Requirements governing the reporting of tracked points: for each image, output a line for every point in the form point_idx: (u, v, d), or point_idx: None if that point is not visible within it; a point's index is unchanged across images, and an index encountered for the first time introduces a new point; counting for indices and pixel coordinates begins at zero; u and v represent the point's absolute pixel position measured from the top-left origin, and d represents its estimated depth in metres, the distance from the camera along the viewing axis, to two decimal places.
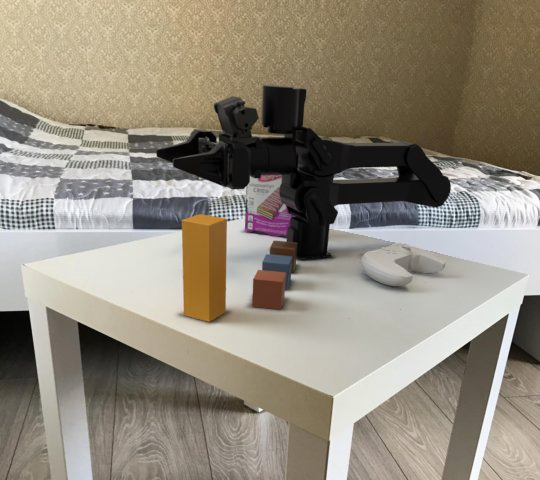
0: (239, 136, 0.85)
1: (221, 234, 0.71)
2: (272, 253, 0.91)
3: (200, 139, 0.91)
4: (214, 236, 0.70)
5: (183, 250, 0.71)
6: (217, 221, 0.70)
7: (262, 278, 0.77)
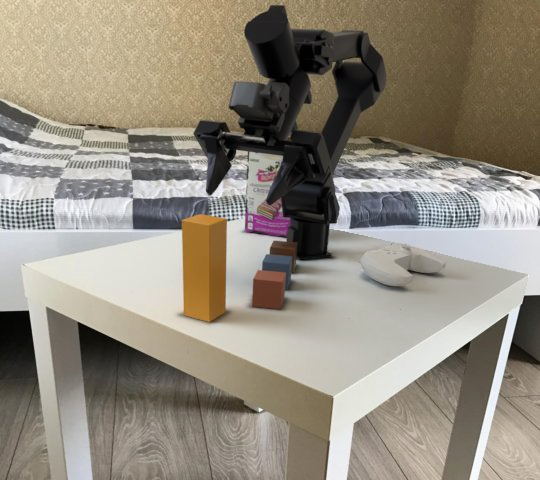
0: (277, 116, 0.75)
1: (221, 234, 0.71)
2: (272, 253, 0.91)
3: (218, 139, 0.78)
4: (214, 236, 0.70)
5: (183, 250, 0.71)
6: (217, 221, 0.70)
7: (262, 278, 0.77)
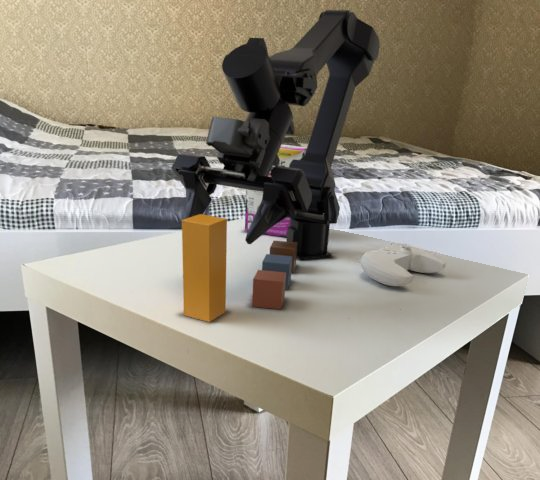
0: (257, 152, 0.72)
1: (221, 234, 0.71)
2: (272, 253, 0.91)
3: (197, 173, 0.76)
4: (214, 236, 0.70)
5: (183, 250, 0.71)
6: (217, 221, 0.70)
7: (262, 278, 0.77)
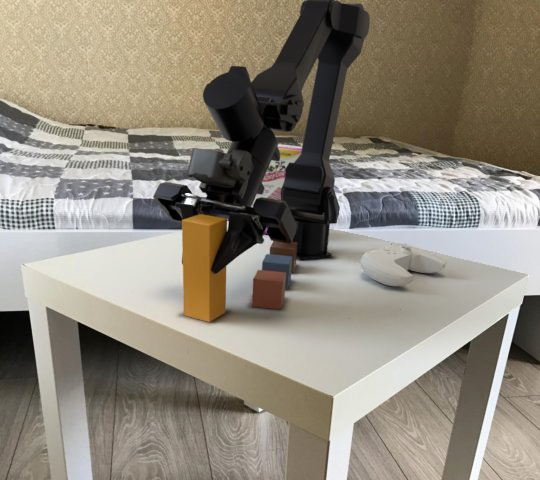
0: (240, 183, 0.70)
1: (221, 234, 0.71)
2: (272, 253, 0.91)
3: (195, 206, 0.73)
4: (215, 236, 0.70)
5: (183, 250, 0.71)
6: (217, 221, 0.70)
7: (262, 278, 0.77)
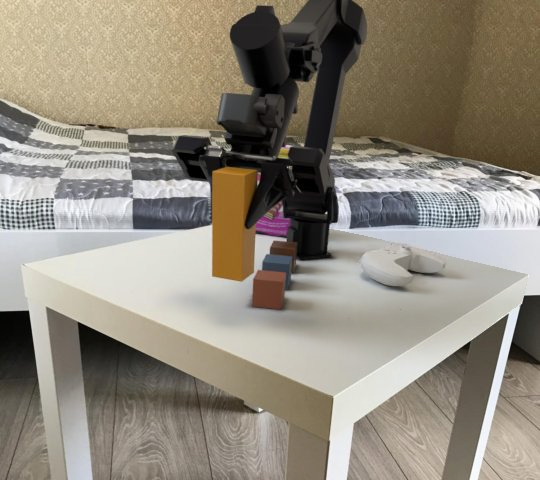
0: (271, 131, 0.67)
1: (253, 186, 0.67)
2: (272, 253, 0.91)
3: (220, 159, 0.69)
4: (248, 188, 0.65)
5: (213, 205, 0.67)
6: (250, 172, 0.66)
7: (262, 278, 0.77)
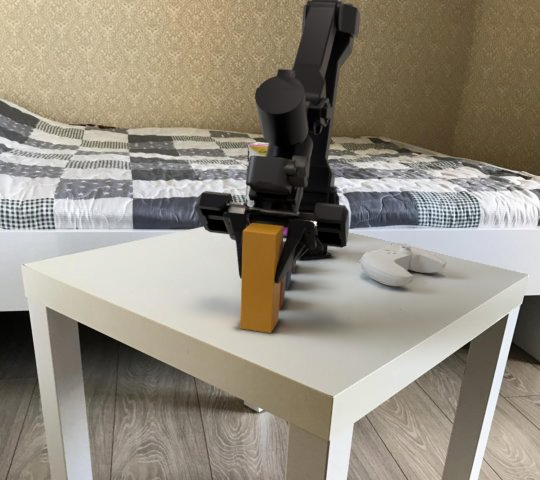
0: (295, 189, 0.69)
1: (280, 242, 0.69)
2: None
3: None
4: (277, 245, 0.68)
5: (243, 261, 0.68)
6: (278, 229, 0.68)
7: None
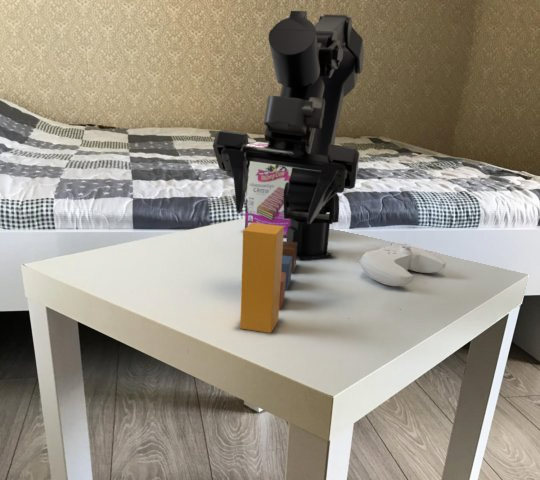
0: (309, 130, 0.72)
1: (280, 242, 0.69)
2: None
3: None
4: (278, 245, 0.68)
5: (243, 261, 0.68)
6: (278, 229, 0.68)
7: None
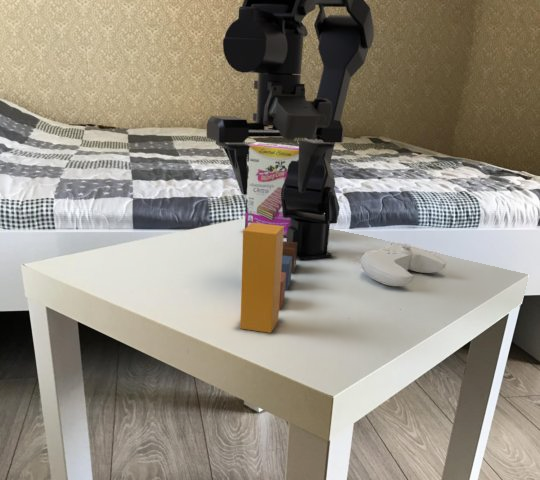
0: None
1: (280, 242, 0.69)
2: None
3: (244, 141, 0.77)
4: (277, 245, 0.68)
5: (243, 261, 0.68)
6: (278, 229, 0.68)
7: None
